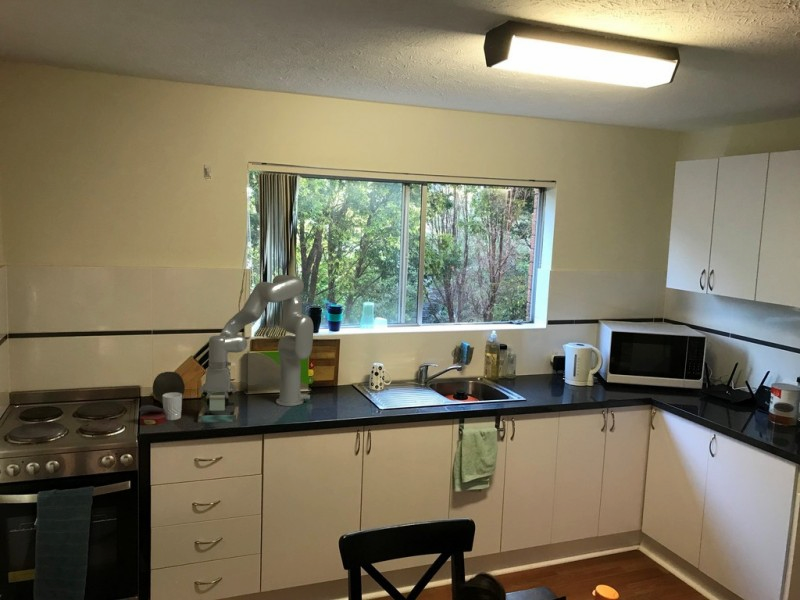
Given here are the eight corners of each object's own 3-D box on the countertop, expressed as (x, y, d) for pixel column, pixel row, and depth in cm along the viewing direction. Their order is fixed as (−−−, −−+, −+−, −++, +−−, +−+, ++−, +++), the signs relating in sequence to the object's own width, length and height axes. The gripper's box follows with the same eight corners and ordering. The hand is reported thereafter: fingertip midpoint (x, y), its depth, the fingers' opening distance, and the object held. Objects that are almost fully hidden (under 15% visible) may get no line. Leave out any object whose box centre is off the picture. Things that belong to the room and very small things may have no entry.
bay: (238, 412, 283) (238, 406, 282) (236, 421, 270) (236, 415, 270) (202, 413, 280) (202, 407, 280) (197, 422, 267) (197, 416, 267)
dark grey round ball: (192, 402, 295) (191, 371, 293) (169, 410, 282) (168, 377, 280) (168, 398, 300) (168, 367, 299) (145, 406, 288) (144, 373, 286)
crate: (226, 406, 277) (226, 392, 276) (224, 410, 270) (224, 396, 270) (211, 406, 276) (211, 392, 275) (209, 410, 269) (209, 396, 269)
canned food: (139, 434, 265) (129, 412, 265) (160, 425, 273) (150, 404, 273) (154, 427, 258) (144, 404, 259) (174, 418, 267) (164, 396, 267)
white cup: (163, 421, 267) (162, 398, 266) (162, 416, 274) (161, 393, 273) (183, 419, 270) (182, 396, 269) (181, 414, 278) (181, 391, 276)
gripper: (239, 363, 276) (239, 404, 278) (198, 363, 273) (197, 404, 275) (238, 367, 269) (238, 409, 271) (195, 367, 266) (195, 409, 268)
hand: (217, 406), depth 273 cm, fingers closed on crate, 6 cm apart
